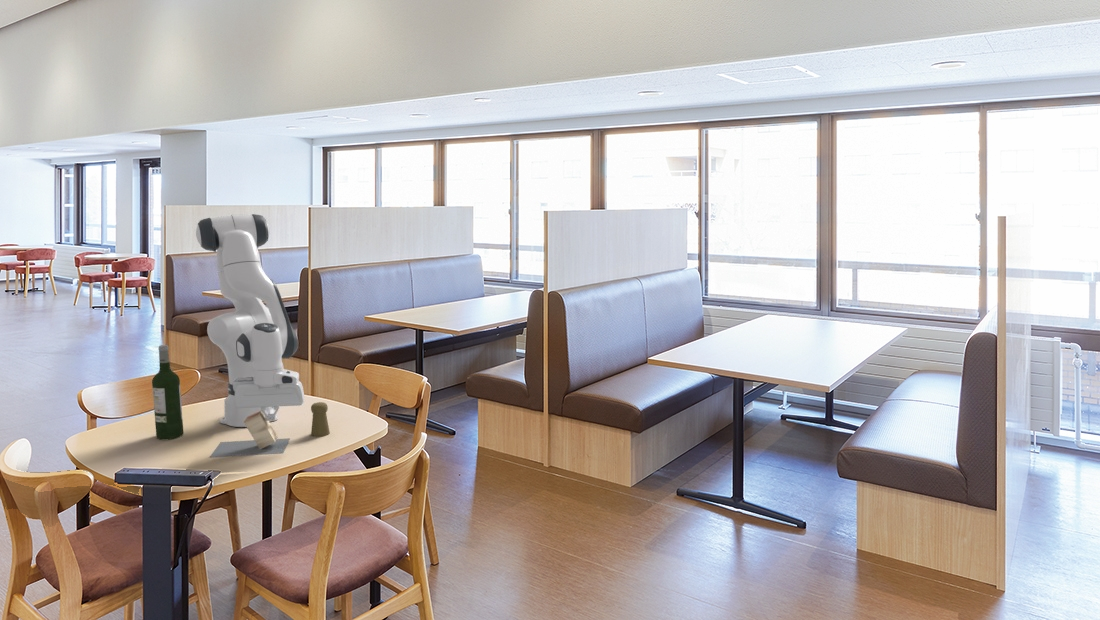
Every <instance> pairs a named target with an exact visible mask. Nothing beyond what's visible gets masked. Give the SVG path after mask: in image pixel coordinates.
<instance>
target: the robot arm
mask: <svg viewBox="0 0 1100 620" xmlns="http://www.w3.org/2000/svg"><path fill="white" fill-rule="evenodd" d="M270 234H271V233H270V226H269V223H268V222H267V219H266V217H264V216H263V215H260V214H255V213H254V214H252V213H251V214H231V215H224V216H217V217H212V218H210V217H206V218H203V219H201V220H199V221H198V223H197V226H196V230H195V237H196V240H197V242H198V244H199V245H200V247H201V248H203V249H204V250H206V251H210V252H213V253H216V267H217V268H216V269H217V273H218V274H217V275H218V276H217V277H218V281H219V288H220V293H221V296H223V297H224V299H227V300H229V301H230V302H231V303H232V305H233V306H234V309H235V311H231V312H226V313H222V314H220V315H217V316H214V317H213V318H211V319H210V320H209V321H208V324H207V329H206V332H207V333H206V334H207V335H208V338H209V340H210V341H211V342H212V343H213V345H215V346H217V347H219V348H220V350H221V352H222V353H223V354H224V357H225V359H226V363H227V370H228V371H227V373H228V383H227V391H228V395H227V397H225V399H224V405H223V406H224V408H223V409H224V417H222V418H220V419H219V424H225V425H227V426H230V427H238V428H244V427H245V428H247V427H246V425H245V423H244V421H245V419H246V418H247V417H248V416H250V415H252V414H254V413H256V412H258V411H260V410H261V411H262V413H263V414H264V415H265V421H269V423H270V422H274V421H277V420H279V418H278V411H279V409H280V407H295V406H296V407H297V406H302V405H303V404H304V403H305V393H304V392H305V391H304V387H303V383H302V382H301V381H300V373H299V372H297V371H295V370H294V371H293V370H289V369H285V368H284V363H283V361H282V360H287V359H290V358H292V357H293V356H294V355H295V354H296V352H297V350H298V349H299V340H298V336H297V334H296V332H295V330H294V328H293V327H292V324H291V321H290V318H289V315H288V313H287V310H286V307H285V304H284V301H283V299H282V296H281V293H280V290H279V288H278V286H277V283H276V282H275V281H274V279H271V278H269V276H268V275H267V274H266V273H265V271H264V269H263V267H262V262H261V256H260V252H259V247H262V246H263V245H265V244H266V243H267V242H269V237H270ZM265 304H266V305H265Z"/></svg>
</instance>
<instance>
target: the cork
mask: <svg viewBox="0 0 1100 620" xmlns="http://www.w3.org/2000/svg"><path fill="white" fill-rule="evenodd" d="M310 411H311V413H312V420H311V432H310V435H311V436H312V437H314V438H319V437H326V436H329V435H330V433H331V431H330V427H329V426H330V425H329V422H328V416H327V412H328V404H327V403H326V402H321V401H319V402H314V403H313V404H312V405H311V407H310Z"/></svg>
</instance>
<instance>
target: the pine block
mask: <svg viewBox="0 0 1100 620" xmlns="http://www.w3.org/2000/svg"><path fill="white" fill-rule="evenodd" d="M244 423H245V425H246V427H245V428H247V430H248V432H249V434H250V436H251V437H252V438H253V440H255V442H256V444H257V445H258V447H259V449H262V448H264V447H266V446H268V445H270V444H272V443H274V442H275V441H276V440H277V439H279V438H278V437H279V436H278V435H277V433H276V431H275V429H274V428H273V426H272V424H271V423H270V422H269V421H265V415H264V414H263V413H262V411H261V410H260V411H258V412H256V413H254V414H252V415H250V416H248V417H247V418H246V419H245V421H244Z"/></svg>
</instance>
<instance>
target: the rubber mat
mask: <svg viewBox="0 0 1100 620" xmlns="http://www.w3.org/2000/svg"><path fill="white" fill-rule="evenodd" d="M290 440H291V438H289V437H288V438H277V440H276V441H275V442H274V443H272V444H270V445H268V446H266V447H264V448H262V449H259V447H258V445H257V444H256V442H255V440H254V439H253V440H251V439H250V440H235V441H220V442H219V444H218V445H217V447H215V449H214V450H213V451H212V453H211V455H210V456H209V458H225V457H238V456H239V457H243V456H259V455H260V456H261V455H277V454H278V455H279V454H284V452H285V450H286V449H287V448H288V447H287V446H288V444H289V442H290Z"/></svg>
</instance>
